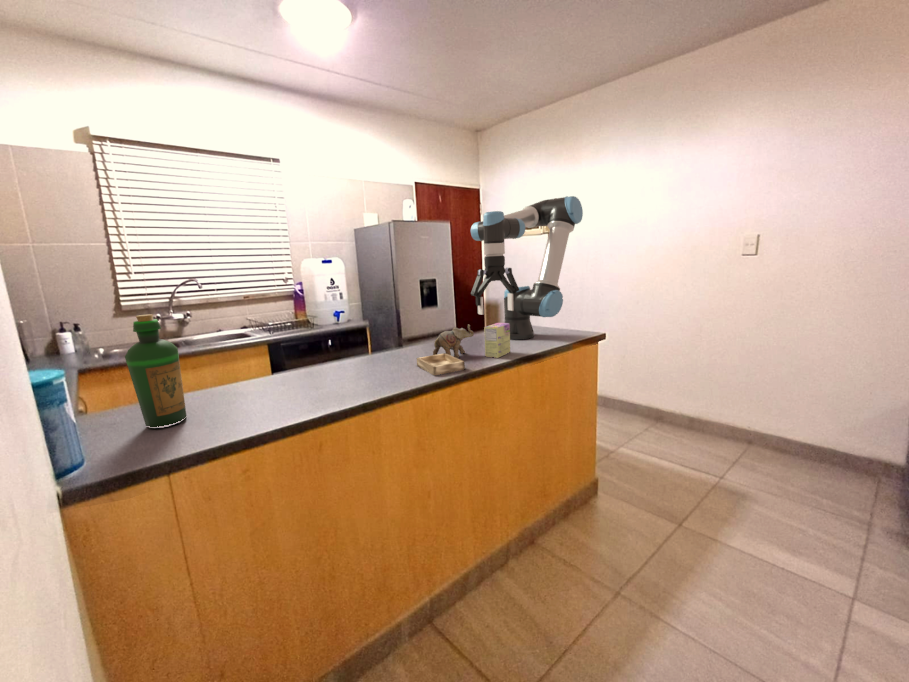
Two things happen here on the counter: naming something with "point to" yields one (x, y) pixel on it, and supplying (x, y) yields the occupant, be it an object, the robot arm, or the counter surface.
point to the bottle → (156, 374)
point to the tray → (440, 364)
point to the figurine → (452, 341)
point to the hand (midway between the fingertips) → (495, 312)
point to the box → (497, 340)
